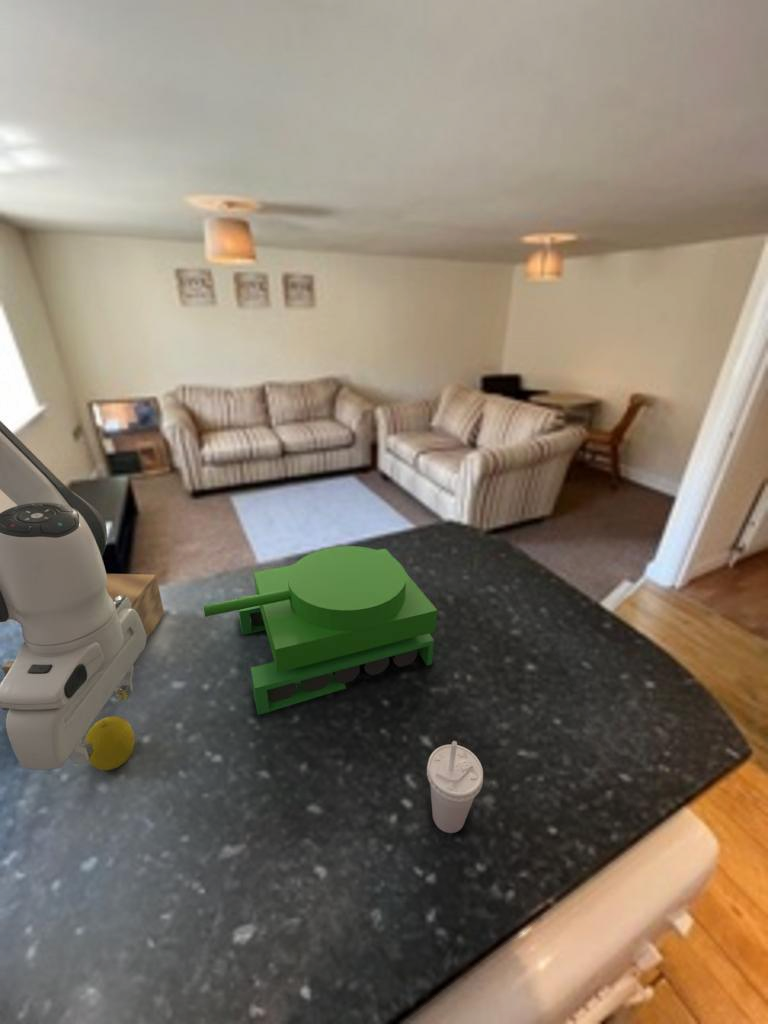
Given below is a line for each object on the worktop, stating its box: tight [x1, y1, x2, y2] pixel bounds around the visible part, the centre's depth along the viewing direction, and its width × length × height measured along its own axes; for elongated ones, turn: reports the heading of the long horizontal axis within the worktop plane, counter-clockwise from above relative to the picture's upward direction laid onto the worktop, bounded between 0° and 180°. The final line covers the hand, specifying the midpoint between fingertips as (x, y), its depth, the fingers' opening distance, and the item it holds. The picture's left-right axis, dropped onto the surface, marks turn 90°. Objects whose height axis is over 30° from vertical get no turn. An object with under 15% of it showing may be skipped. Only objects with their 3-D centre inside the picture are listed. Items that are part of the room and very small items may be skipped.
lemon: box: [84, 715, 136, 771], centre depth 59 cm, size 6×6×8 cm
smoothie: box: [426, 740, 484, 834], centre depth 52 cm, size 6×6×14 cm
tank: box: [203, 545, 438, 716], centre depth 78 cm, size 24×35×16 cm
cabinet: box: [106, 573, 165, 640], centre depth 80 cm, size 14×12×10 cm
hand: (105, 724), depth 57 cm, fingers open, 8 cm apart
